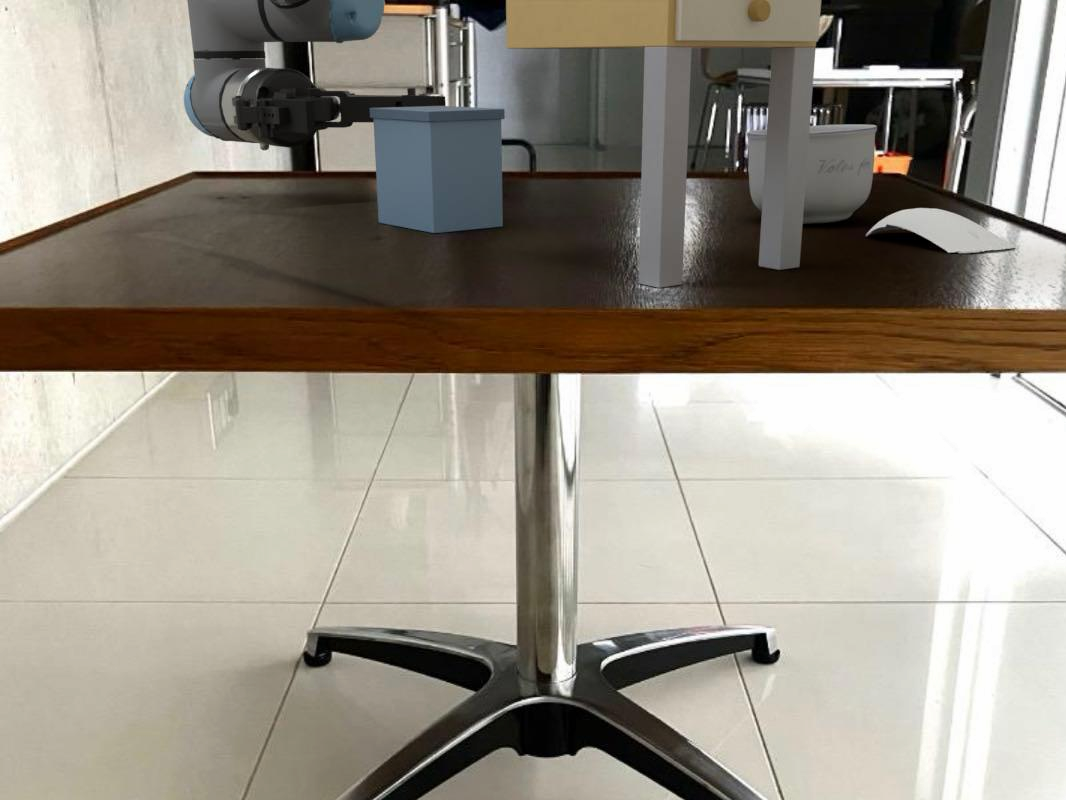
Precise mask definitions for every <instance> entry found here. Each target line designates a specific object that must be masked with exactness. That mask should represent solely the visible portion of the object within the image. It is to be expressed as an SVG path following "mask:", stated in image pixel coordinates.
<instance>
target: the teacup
mask: <svg viewBox="0 0 1066 800" xmlns="http://www.w3.org/2000/svg"><path fill="white" fill-rule="evenodd" d="M877 130H878V126H877V125H875V124H865V123H864V124H862V123H861V124H855V123H853V124H851V123H850V124H849V123H848V124H845V123H844V124H822V125H819V124H818V125H810V130H809V144H808V157H807V171H806V184H805V198H804V212H803V225H808V224H809V225H810V224H825V223H826V224H827V223H837V222H842V221H844V220H847V219H849V218H850V217H852V216H853V213H854V212H855V211H857V210H858V209H859V208H861V206H863V205H864V203H865V202H866V201H867V200H868V199H869V196H870V194H871V190H872V186H873V180H874V179H873V178H874V167H875V147H876V146H875V145H876V133H877ZM746 137H747V140H748V141H747V142H748V182H749V184H748V185H749V194H750V197H751V201H752V203H753V205H754V206H755V207H756V208H757V209H758V210H759V211H761V212H762V202H763V185H764V169H765V153H766V137H767V128H764V129H754V130H749V131H747V133H746Z"/></svg>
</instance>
